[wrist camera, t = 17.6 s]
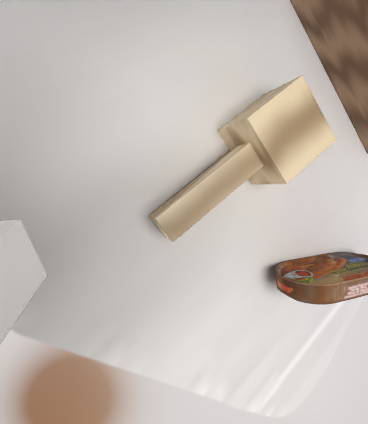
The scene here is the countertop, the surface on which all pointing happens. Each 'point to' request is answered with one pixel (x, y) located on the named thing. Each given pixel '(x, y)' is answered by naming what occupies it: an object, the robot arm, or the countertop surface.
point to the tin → (324, 277)
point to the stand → (342, 51)
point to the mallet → (253, 154)
